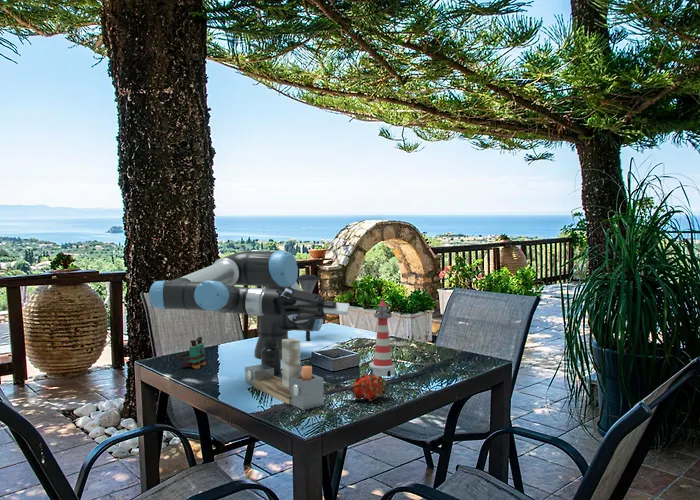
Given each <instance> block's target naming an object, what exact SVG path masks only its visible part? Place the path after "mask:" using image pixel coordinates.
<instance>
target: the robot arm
mask: <svg viewBox="0 0 700 500" xmlns="http://www.w3.org/2000/svg"><path fill="white" fill-rule="evenodd" d="M297 263H298V262H297V259H296V257H295V255H293V253H292V252H290V251H284V250H273V251H272V250H271V251H268V250H244V251H238V252H234V253H231V254H229V255H226V256H223V257H220V258H217V260H215V261H214V263H212V265H209V266H207V267H204V268H201V269H199V270H196V271H194V272H191V273H189V274H186V275H183V276H181V277H178V278H175V279H173V280H166V279H165V280H156V281H154V282H153V283H152V284H151V285H150V288H149V291H148V292H149V293H148V296H149V299H148V300H149V303H150V305H151V306H152V307H153V308H155V309H162V310H166V311H167V310H185V311H187V310H189V311H210V312H211V311H212V312H218V313H222V314H237V315H238V314H239V315H240V314H241V315H253V316H258V338H257V341H256V344H255V348H254V357H255V358H257V359H261V351H262V349H263V348H265V347H264V341H265V340H277V341H278V346H277V347H278V348H279V349H280V350H281V359H282V340H283V339H290V338H289V335H288V334H289V332H288V331H302V332H306V331H310V333H311V332H312V333H313V332H319V331H320V330H321V329H322V326H323V322H324V317H325V315H332V316H333V315H343V316H345V315H346V316H349V313H350V308H351V307H350V303H346V302H336V301H329V300H325V299H324V298H322V295H321V294H317V293H314V292H312V293H309V292H304V291H303V290H302V287H301V286H300V284H298V280H297V277H299V276H298V273H299V267H298V265H297ZM244 286H249V287H244ZM250 286H252V287H250ZM255 286H256V287H255ZM262 287H264V288H262Z"/></svg>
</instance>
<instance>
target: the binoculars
mask: <svg viewBox="0 0 700 500" xmlns="http://www.w3.org/2000/svg"><path fill="white" fill-rule="evenodd" d="M190 343H191V345H190V346H189V347H188V348H189V353H188V352H187V353H183V354H181V355H179V356H178V358H177V359H178V361H180V362H182V361H185V362H187V363H182V364H181V368H188V367H192V368H193V369H198V370H199V369H200V368H201V366H206V362H207V361H205V359H206V352H205V345H204V342H203V336H198V337H197V338H196V339H193V340H190Z"/></svg>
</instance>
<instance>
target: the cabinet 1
mask: <svg viewBox="0 0 700 500" xmlns="http://www.w3.org/2000/svg"><path fill="white" fill-rule="evenodd" d="M244 374H245V375H244V379H245V381H244V382H245V383H247V384H249V385H251V386H253V387H254V380H258V381H263V380H269V379H273V376H274V368H273V367H270V366H268V365H265V364H255V365H250V366H249V365H248V366H245V367H244Z"/></svg>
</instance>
